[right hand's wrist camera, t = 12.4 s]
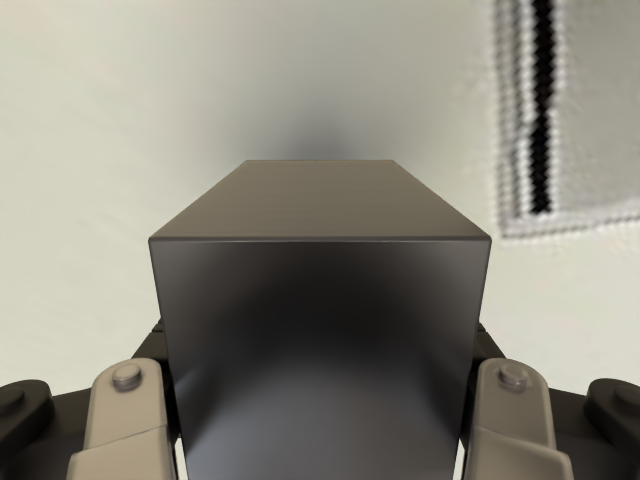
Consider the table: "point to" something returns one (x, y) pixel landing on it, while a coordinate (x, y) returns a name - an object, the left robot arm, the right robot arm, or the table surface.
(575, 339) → the table surface
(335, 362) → the bar
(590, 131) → the table surface
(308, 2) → the table surface
